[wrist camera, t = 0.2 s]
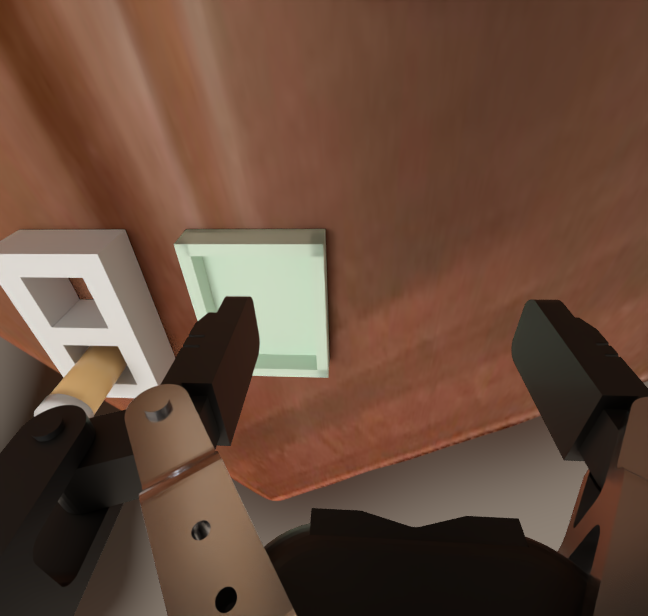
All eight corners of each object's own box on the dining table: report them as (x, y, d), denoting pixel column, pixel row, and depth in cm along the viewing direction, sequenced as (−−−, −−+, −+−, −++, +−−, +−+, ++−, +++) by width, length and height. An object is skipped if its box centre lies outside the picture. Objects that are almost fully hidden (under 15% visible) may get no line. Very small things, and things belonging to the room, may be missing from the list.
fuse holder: (18, 229, 30) (-21, 253, 27) (125, 229, 29) (97, 254, 26) (98, 366, 40) (76, 396, 37) (179, 368, 39) (164, 399, 36)
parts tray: (186, 229, 29) (173, 244, 27) (325, 228, 28) (323, 244, 26) (221, 356, 37) (214, 374, 36) (329, 358, 37) (328, 377, 35)
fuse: (97, 321, 36) (24, 405, 28) (135, 321, 35) (72, 407, 27) (112, 349, 38) (48, 435, 30) (148, 350, 38) (93, 436, 30)
